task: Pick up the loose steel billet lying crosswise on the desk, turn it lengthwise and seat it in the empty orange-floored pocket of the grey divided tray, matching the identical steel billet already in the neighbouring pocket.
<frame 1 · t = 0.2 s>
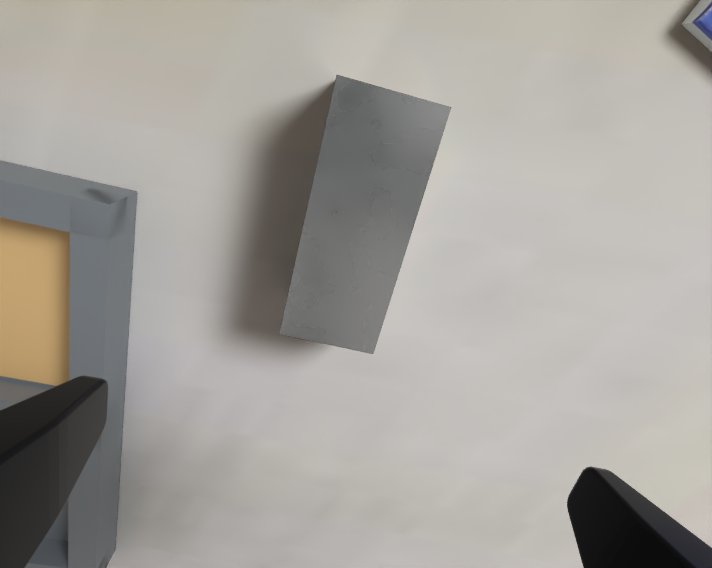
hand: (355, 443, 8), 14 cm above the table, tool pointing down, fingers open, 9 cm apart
billet: (354, 206, 21), on the table
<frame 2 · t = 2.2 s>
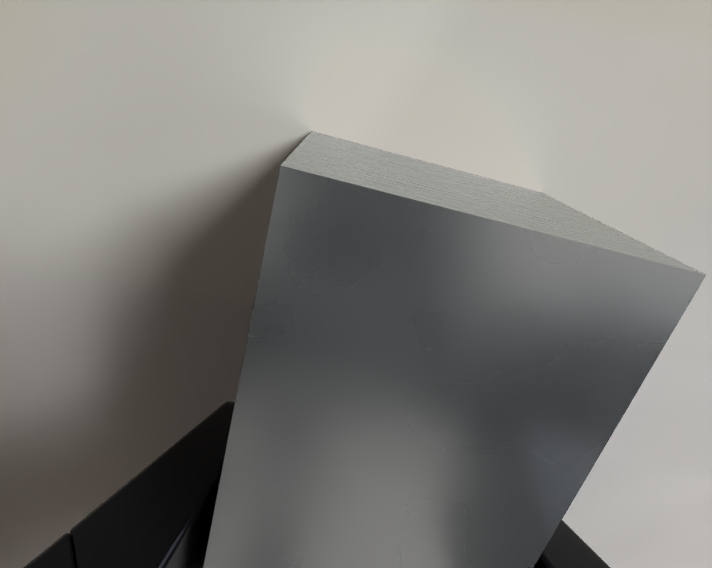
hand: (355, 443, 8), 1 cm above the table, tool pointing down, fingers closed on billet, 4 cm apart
billet: (354, 399, 10), on the table, touching gripper
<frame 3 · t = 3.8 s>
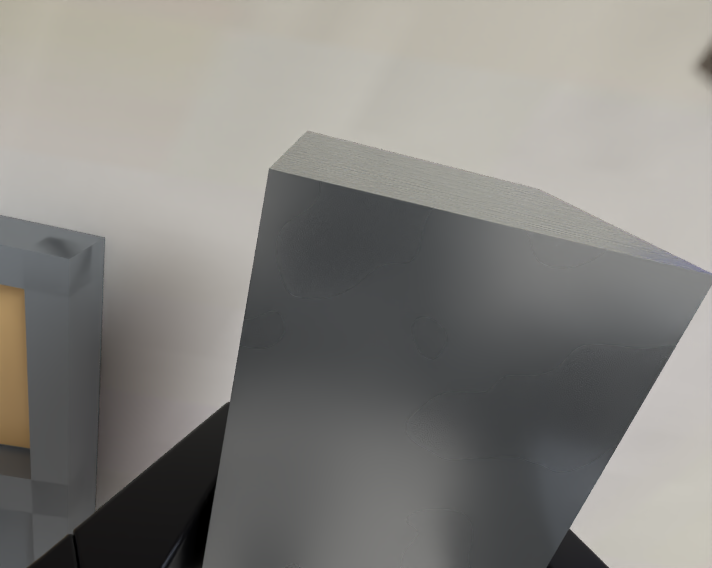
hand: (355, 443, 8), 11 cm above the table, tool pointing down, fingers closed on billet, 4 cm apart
billet: (355, 403, 9), point 10 cm above the table, touching gripper
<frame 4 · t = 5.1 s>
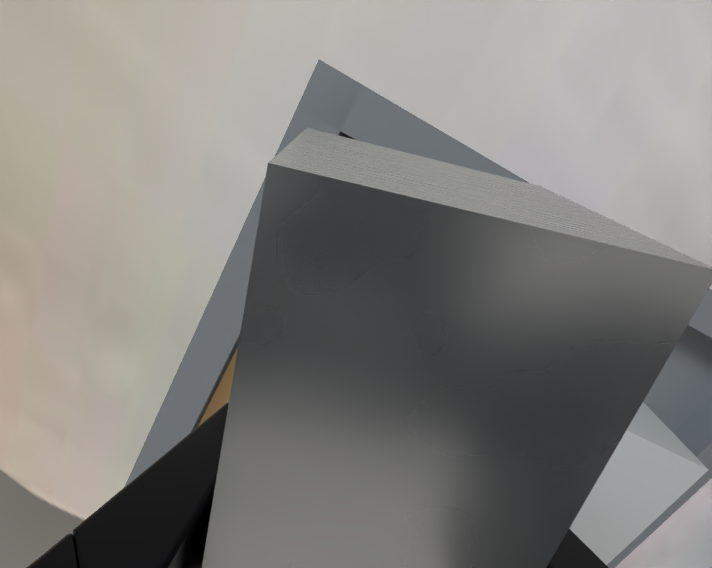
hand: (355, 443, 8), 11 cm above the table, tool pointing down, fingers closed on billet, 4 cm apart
grey divided tray: (440, 406, 22), on the table
billet: (355, 402, 9), point 10 cm above the table, touching gripper
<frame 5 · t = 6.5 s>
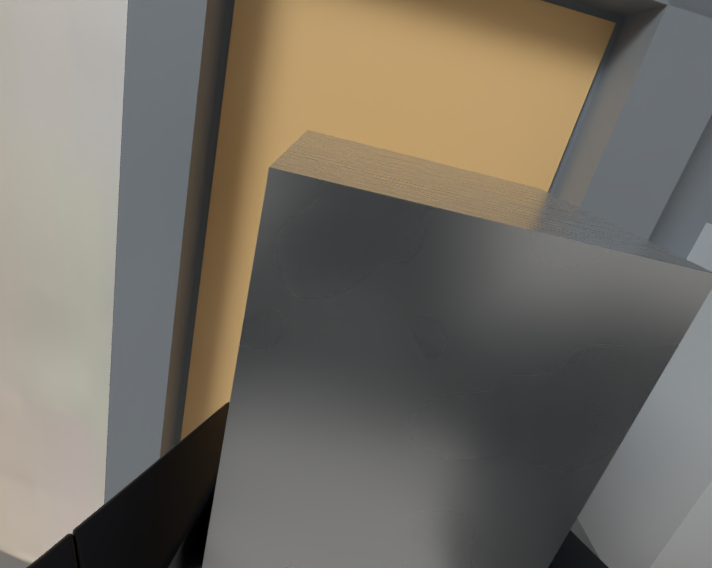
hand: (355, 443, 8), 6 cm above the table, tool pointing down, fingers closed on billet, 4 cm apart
grey divided tray: (510, 335, 15), on the table
billet: (355, 403, 9), point 5 cm above the table, touching gripper
when the fingers open (3 cm above the table, at t = 7.7 s): billet drops 1 cm, resting on grey divided tray.
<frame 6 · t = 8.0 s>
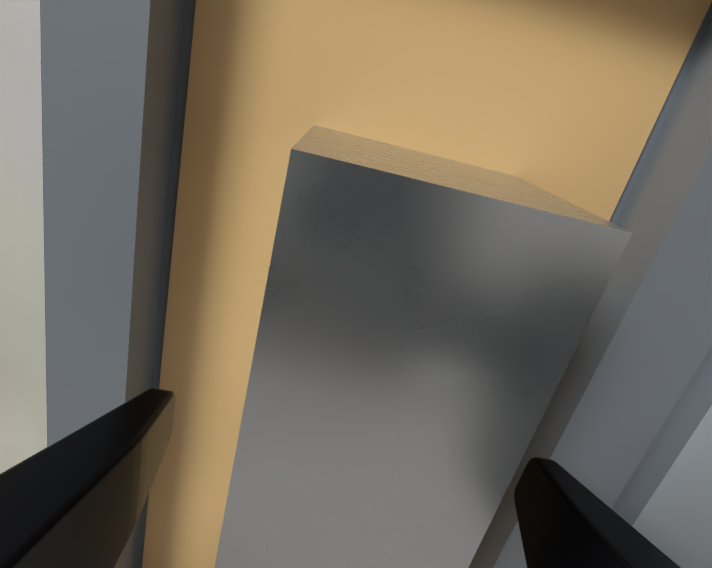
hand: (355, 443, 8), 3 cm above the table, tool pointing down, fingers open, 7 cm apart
grey divided tray: (550, 387, 12), on the table
billet: (354, 367, 11), point 1 cm above the table, touching grey divided tray
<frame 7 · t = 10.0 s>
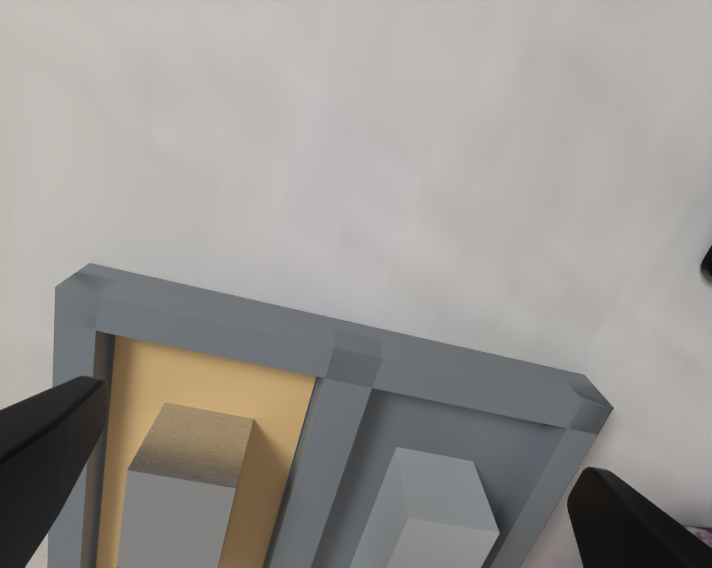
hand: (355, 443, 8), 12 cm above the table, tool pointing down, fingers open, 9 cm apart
grey divided tray: (304, 493, 24), on the table
billet: (194, 490, 23), point 1 cm above the table, touching grey divided tray
mineral specimen: (674, 552, 28), on the table
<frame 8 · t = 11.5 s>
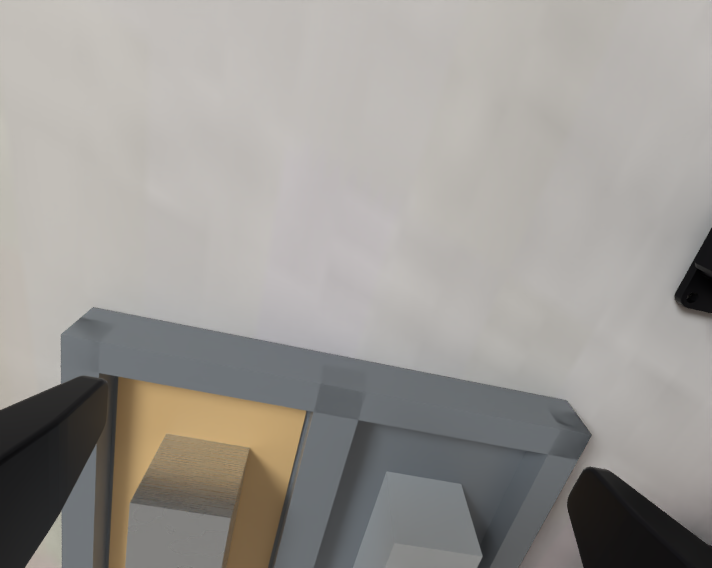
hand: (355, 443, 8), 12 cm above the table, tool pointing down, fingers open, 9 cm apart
grey divided tray: (301, 514, 26), on the table
billet: (197, 514, 24), point 1 cm above the table, touching grey divided tray
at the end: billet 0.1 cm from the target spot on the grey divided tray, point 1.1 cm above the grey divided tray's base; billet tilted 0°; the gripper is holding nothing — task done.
